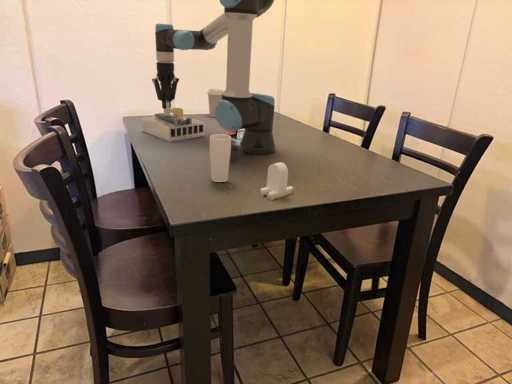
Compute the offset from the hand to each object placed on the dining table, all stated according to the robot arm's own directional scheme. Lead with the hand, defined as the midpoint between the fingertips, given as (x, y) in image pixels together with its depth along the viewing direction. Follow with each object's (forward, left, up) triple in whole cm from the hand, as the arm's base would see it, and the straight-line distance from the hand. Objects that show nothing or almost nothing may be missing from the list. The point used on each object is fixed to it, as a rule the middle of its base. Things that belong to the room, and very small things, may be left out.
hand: (166, 115), depth 178 cm
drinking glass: (-63, +21, -8) cm, 67 cm away
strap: (-3, 0, -2) cm, 4 cm away
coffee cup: (+18, -44, -8) cm, 48 cm away
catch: (+4, -6, -1) cm, 8 cm away
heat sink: (-3, -1, -8) cm, 9 cm away
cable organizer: (-82, +14, -8) cm, 84 cm away
